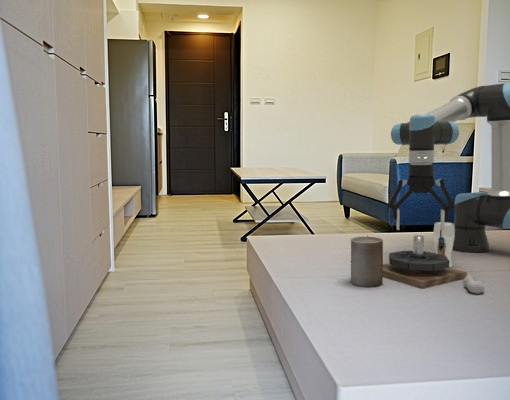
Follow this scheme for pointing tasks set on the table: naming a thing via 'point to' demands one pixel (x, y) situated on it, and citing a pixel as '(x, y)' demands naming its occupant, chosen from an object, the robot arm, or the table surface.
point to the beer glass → (444, 239)
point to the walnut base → (422, 276)
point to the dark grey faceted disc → (418, 261)
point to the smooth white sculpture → (473, 284)
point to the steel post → (418, 247)
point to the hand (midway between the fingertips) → (419, 229)
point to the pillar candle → (366, 261)
